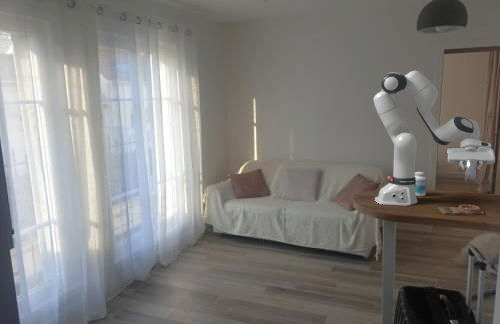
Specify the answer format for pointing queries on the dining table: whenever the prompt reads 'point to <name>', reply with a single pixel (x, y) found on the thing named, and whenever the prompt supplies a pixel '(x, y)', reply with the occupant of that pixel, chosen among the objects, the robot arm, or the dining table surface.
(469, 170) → the steel peg
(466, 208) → the gauge board
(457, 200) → the dining table surface
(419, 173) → the pill bottle
